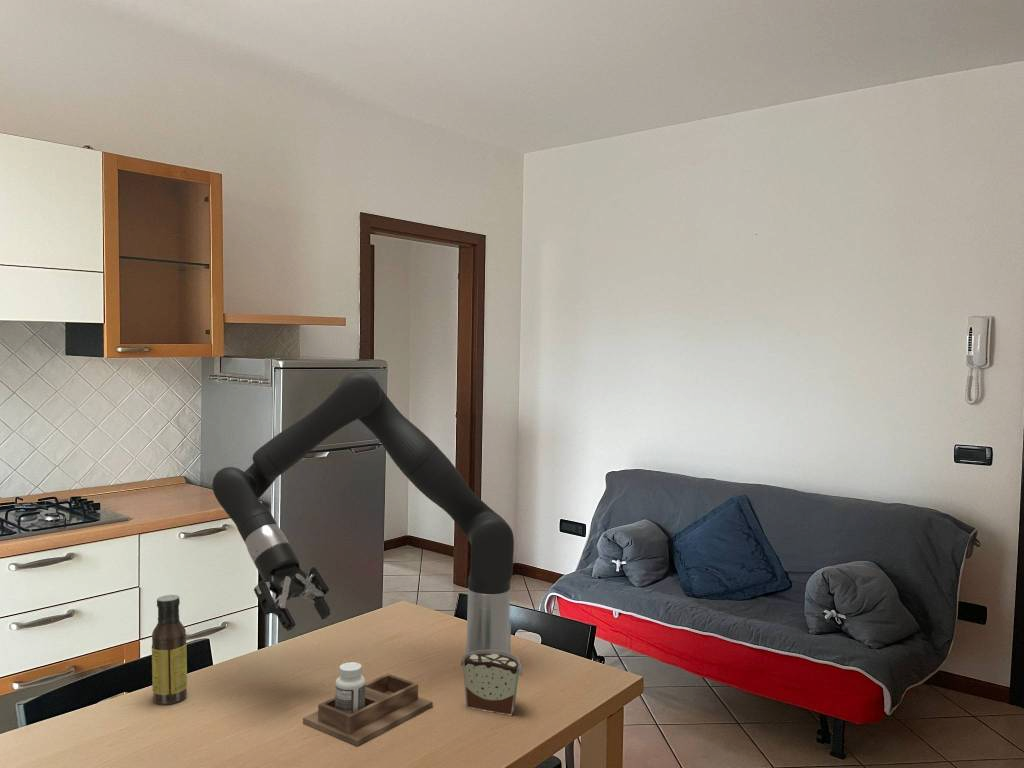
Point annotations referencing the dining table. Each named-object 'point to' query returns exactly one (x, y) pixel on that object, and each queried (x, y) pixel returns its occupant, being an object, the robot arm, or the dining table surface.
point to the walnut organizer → (371, 711)
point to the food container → (491, 680)
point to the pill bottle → (350, 688)
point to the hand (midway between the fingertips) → (309, 622)
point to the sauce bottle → (169, 653)
